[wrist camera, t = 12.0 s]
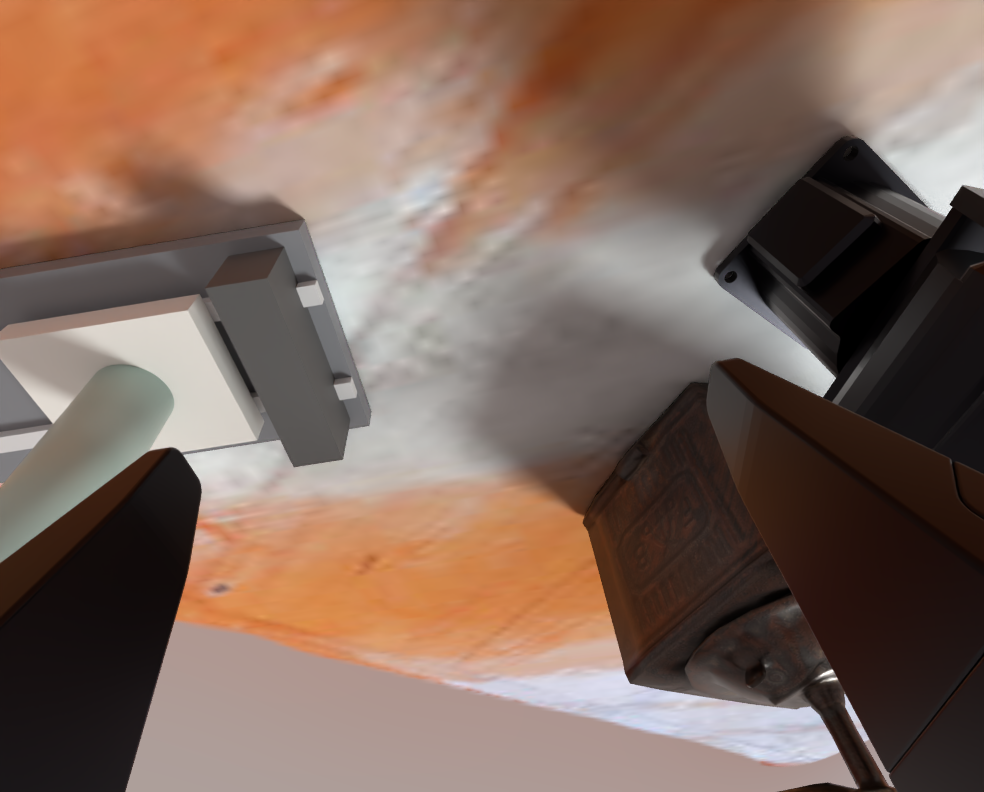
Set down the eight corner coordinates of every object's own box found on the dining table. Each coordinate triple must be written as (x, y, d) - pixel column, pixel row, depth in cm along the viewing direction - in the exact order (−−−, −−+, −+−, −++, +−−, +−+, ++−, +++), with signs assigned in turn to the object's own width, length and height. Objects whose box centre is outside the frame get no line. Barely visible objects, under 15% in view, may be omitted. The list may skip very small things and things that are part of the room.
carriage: (199, 293, 20) (43, 510, 12) (264, 421, 24) (177, 651, 16) (7, 324, 20) (-271, 558, 12) (101, 446, 24) (-66, 687, 16)
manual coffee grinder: (682, 369, 26) (990, 877, 11) (851, 437, 29) (1247, 890, 15) (524, 566, 34) (587, 1007, 19) (671, 601, 37) (816, 995, 23)
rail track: (304, 219, 20) (283, 259, 17) (371, 411, 26) (363, 465, 23) (-207, 302, 21) (-307, 355, 18) (-33, 474, 26) (-89, 535, 23)
